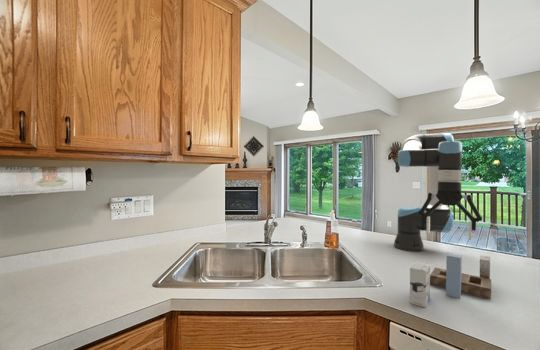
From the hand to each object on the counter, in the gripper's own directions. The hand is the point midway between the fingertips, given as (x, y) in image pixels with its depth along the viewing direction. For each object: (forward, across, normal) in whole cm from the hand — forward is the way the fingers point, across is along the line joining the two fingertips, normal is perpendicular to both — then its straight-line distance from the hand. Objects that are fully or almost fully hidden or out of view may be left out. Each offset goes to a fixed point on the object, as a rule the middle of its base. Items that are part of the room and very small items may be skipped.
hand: (448, 235), depth 102 cm
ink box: (+19, -5, -23) cm, 30 cm away
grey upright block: (+19, +11, +10) cm, 24 cm away
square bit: (+19, +3, -10) cm, 21 cm away
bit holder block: (+19, +4, 0) cm, 19 cm away
